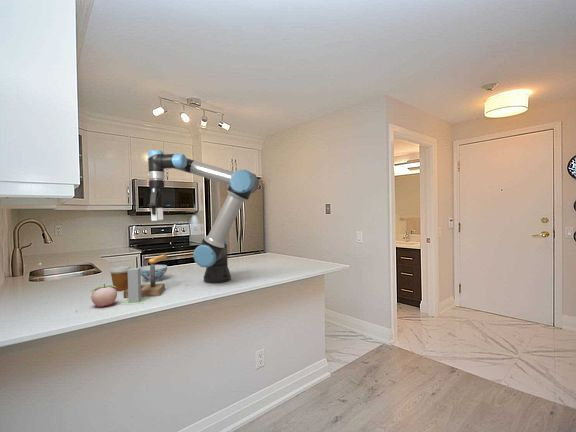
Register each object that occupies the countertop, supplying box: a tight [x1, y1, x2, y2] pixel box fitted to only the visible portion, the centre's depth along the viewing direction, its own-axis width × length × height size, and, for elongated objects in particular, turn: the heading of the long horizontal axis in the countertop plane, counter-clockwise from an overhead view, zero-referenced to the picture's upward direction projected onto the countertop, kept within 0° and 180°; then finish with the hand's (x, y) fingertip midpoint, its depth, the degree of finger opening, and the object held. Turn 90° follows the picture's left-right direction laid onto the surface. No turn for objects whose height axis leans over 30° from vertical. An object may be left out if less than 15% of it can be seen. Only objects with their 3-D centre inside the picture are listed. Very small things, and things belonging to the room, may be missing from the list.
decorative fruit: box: [90, 283, 118, 308], centre depth 125 cm, size 9×8×10 cm
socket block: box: [122, 263, 166, 299], centre depth 143 cm, size 15×12×15 cm
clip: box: [148, 254, 168, 264], centre depth 150 cm, size 15×3×2 cm, turn 179°
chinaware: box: [139, 264, 168, 283], centre depth 174 cm, size 15×15×8 cm
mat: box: [120, 297, 149, 306], centre depth 131 cm, size 9×9×1 cm
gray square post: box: [127, 267, 142, 303], centre depth 131 cm, size 4×4×14 cm
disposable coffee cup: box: [109, 265, 132, 292], centre depth 151 cm, size 10×10×12 cm
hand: (157, 220), depth 161 cm, fingers open, 13 cm apart
